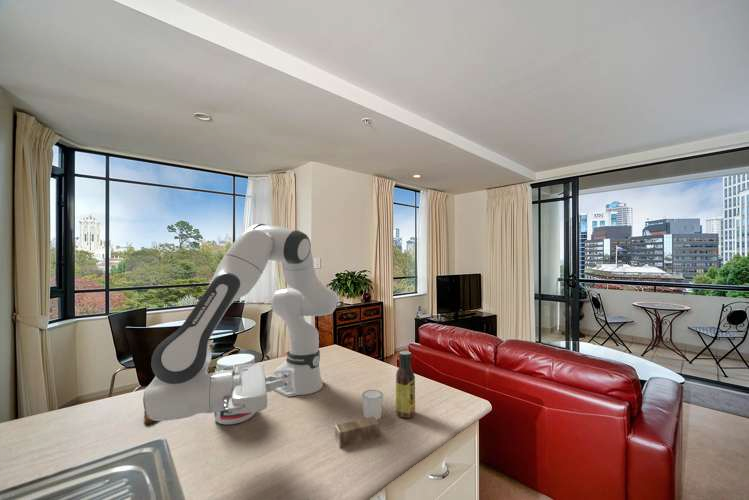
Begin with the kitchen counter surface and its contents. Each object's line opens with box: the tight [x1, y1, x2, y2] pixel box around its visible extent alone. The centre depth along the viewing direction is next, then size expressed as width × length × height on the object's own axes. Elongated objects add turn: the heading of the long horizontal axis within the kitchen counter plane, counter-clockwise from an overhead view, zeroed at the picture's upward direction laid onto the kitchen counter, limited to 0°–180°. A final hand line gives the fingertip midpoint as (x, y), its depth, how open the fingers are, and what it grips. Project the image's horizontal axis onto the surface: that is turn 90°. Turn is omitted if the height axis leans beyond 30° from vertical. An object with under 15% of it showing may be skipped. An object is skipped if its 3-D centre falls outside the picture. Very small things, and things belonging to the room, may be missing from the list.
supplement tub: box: [213, 353, 257, 425], centre depth 100 cm, size 13×13×18 cm
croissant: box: [143, 411, 156, 425], centre depth 101 cm, size 14×7×5 cm, turn 16°
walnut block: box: [334, 417, 381, 448], centre depth 88 cm, size 4×4×12 cm
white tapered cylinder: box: [361, 389, 384, 421], centre depth 100 cm, size 7×7×7 cm
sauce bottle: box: [395, 350, 416, 419], centre depth 101 cm, size 6×6×20 cm
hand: (283, 380), depth 80 cm, fingers closed
